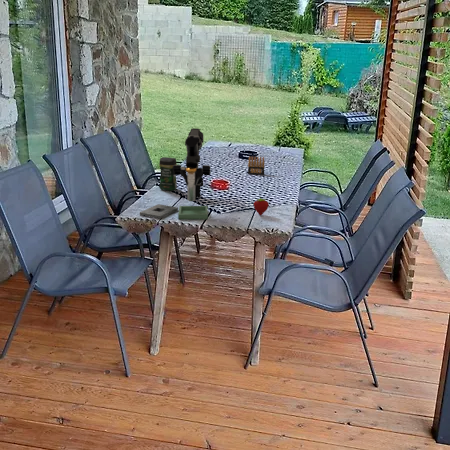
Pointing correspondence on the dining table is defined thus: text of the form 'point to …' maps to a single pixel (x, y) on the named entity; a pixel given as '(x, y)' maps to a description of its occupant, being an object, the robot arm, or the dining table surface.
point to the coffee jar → (167, 174)
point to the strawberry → (261, 206)
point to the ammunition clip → (256, 166)
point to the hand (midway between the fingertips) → (191, 184)
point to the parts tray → (193, 212)
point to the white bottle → (191, 183)
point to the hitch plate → (153, 210)
